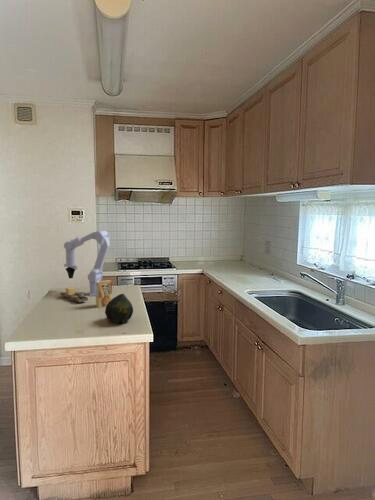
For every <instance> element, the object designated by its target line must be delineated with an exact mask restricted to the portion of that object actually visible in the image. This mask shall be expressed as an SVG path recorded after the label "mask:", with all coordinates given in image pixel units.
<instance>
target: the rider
mask: <svg viewBox="0 0 375 500" xmlns="http://www.w3.org/2000/svg"><path fill="white" fill-rule="evenodd" d="M65 292H66V294H68V295H73V294H74V293H75V288H74V287H72V286H71V287H66V288H65Z"/></svg>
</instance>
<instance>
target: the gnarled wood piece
mask: <svg viewBox="0 0 375 500" xmlns="http://www.w3.org/2000/svg"><path fill="white" fill-rule="evenodd" d="M59 293H60V296H61V297H62V296H63V297H65V298H67V301H68V302H72V301H75V302H78V303H81V302H86V301H88V300H89V299H88V296H85V293H83V292H79V293H76V292H74V294H73V295H68V294H66V291H65V292H62V291H60V292H59Z"/></svg>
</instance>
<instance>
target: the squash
mask: <svg viewBox="0 0 375 500" xmlns="http://www.w3.org/2000/svg"><path fill="white" fill-rule="evenodd" d="M133 307H134V306H133V305H132V303H131V301H130V300H129V299H128V298H127V296H126V295H125V294H124V293H121V294H118V295H116V296H114V297H112V300H111V301H110V302H109V303H108V304H107V306H106V307H105V309H104V313H105V317H106V318H107V319H108V320H109V321H113V323H115V324H119V323H121V324H122V323H125V322H126V321H129V320H131V319H132V316H133V314H134V308H133Z"/></svg>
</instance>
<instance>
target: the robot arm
mask: <svg viewBox="0 0 375 500" xmlns="http://www.w3.org/2000/svg"><path fill="white" fill-rule="evenodd" d="M110 236H111V235H110V233H109V232H108V231H107V230H96V231H93V232H91V233H89V234H87V235H85V236H82V237H81V236H76V237H75V238H74V239H70V241H65V242H64V244H63V248H64V249H65V263H64V264H63V267H65V271H66V273H67V275H68V279H73V277H74V274H75V271H76V270H77V269H78V266H77V265H76V259H75V257H76V255H75V251H76V248H78V247H81V246H83V245H84V244H85V242H87V241H90V240H95V241H96V242H97V243H98V244H99V246H100V249H99V251H98V254H97V257H96V261H95V262H94V263H95V264H94V265H93V268H92V269H91V270H90V272H89V273H88V275H87V280H88V281H89V293H88V294H89V297H94V296H95V297H96V282H99V281H102V279H103V273H104V270H103V266H104V263H105V261H106V259H107V255H108V253H109V250H110V246H111V242H110Z"/></svg>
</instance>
